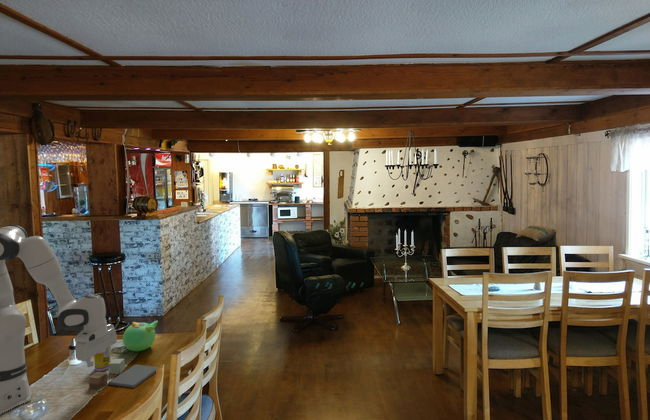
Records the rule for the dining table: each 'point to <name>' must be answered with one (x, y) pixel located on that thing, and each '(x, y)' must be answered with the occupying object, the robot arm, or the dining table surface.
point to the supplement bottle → (101, 361)
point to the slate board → (133, 376)
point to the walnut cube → (98, 380)
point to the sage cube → (117, 366)
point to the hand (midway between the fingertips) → (98, 361)
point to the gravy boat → (139, 336)
